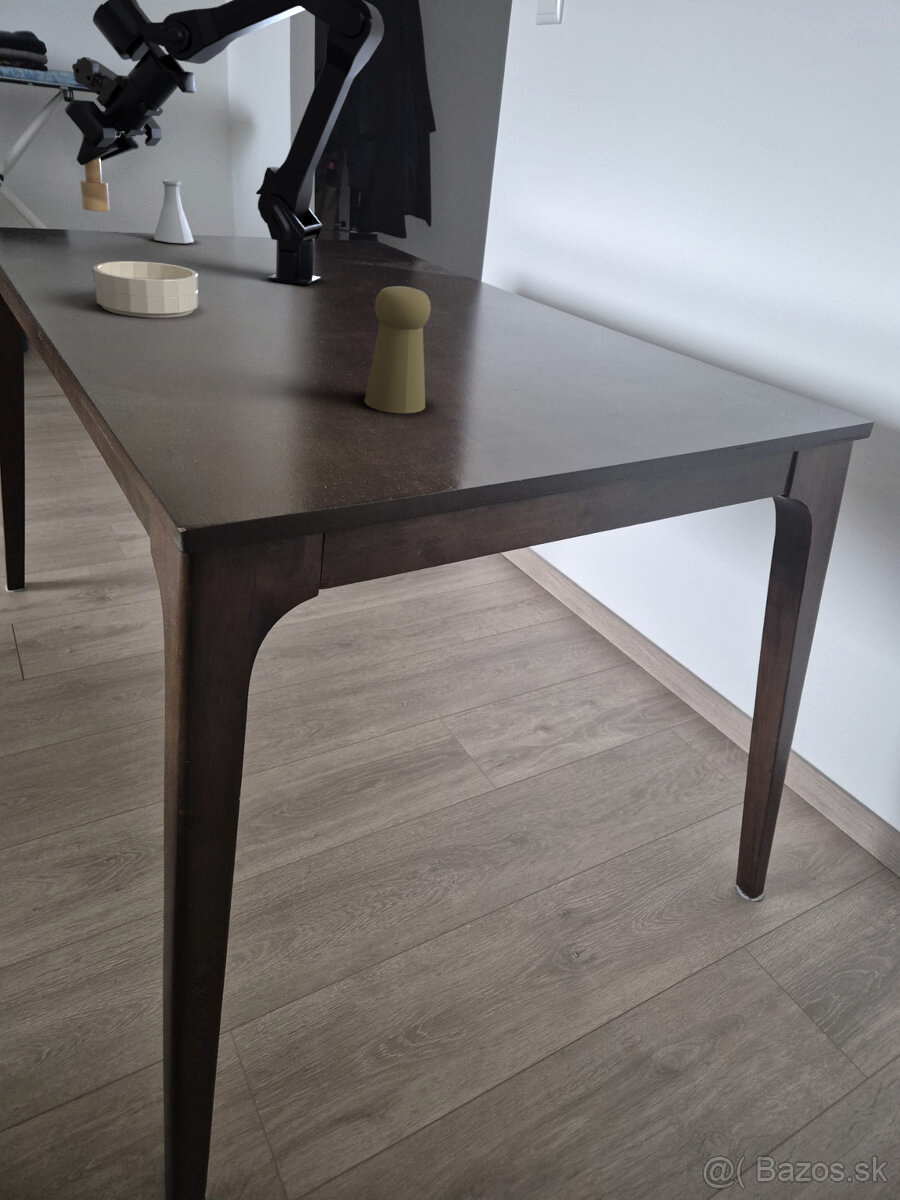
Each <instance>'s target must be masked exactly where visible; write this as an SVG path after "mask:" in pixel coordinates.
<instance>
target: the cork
mask: <svg viewBox="0 0 900 1200" xmlns="http://www.w3.org/2000/svg"><path fill="white" fill-rule="evenodd" d="M431 309H432V308H431V300H430V298H429V296H428V294H426V293H425V291H422V290H419V289H416V288H414V287H409V286H403V285H401V286H400V285H396V286H388V287H384V288H382V289H381V290H380V291H379V292H378V294H377V296H376V299H375V302H374V310H375V315H376V318H377V320H378V321H379V325H378V331H377V336H376V339H375V340H376V341H375V346H374V350H373V356H372V361H371V366H370V371H369V376H368V380H367V386H366V390H365V396H364V403H365V405H367V406H368V407H369V408H372V409H374V410H377V411H380V412H386V413H390V414H391V413H392V414H415V413H418V412H422V411H423V410H425V408H426V387H425V386H426V384H425V354H424V353H425V351H424V350H425V349H424V326H425V325H426V324H427V323H428V321H429V318H430V315H431Z"/></svg>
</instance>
